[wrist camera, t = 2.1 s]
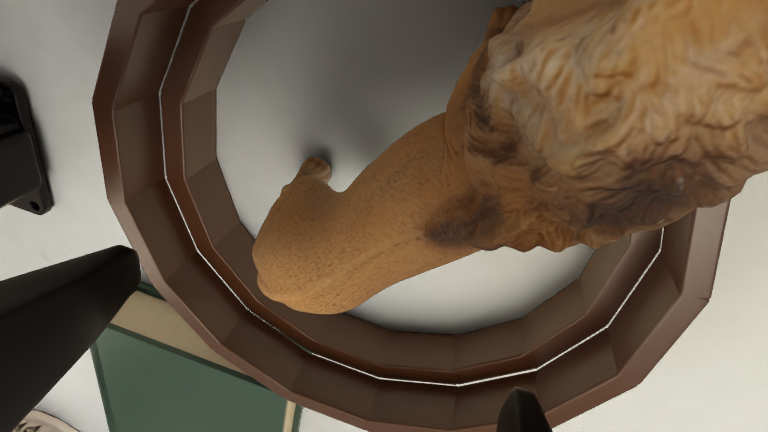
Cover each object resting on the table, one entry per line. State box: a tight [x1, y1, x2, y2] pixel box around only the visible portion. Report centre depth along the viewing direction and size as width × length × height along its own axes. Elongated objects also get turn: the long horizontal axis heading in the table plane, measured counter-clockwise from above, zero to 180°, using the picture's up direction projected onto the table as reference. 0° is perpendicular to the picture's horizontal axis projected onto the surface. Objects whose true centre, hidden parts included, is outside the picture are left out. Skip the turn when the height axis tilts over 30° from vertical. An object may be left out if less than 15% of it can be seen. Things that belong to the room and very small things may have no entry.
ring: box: [92, 0, 731, 432], centre depth 15 cm, size 17×17×4 cm
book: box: [90, 282, 312, 432], centre depth 25 cm, size 10×14×3 cm
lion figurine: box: [252, 0, 768, 314], centre depth 11 cm, size 15×5×9 cm, turn 138°
